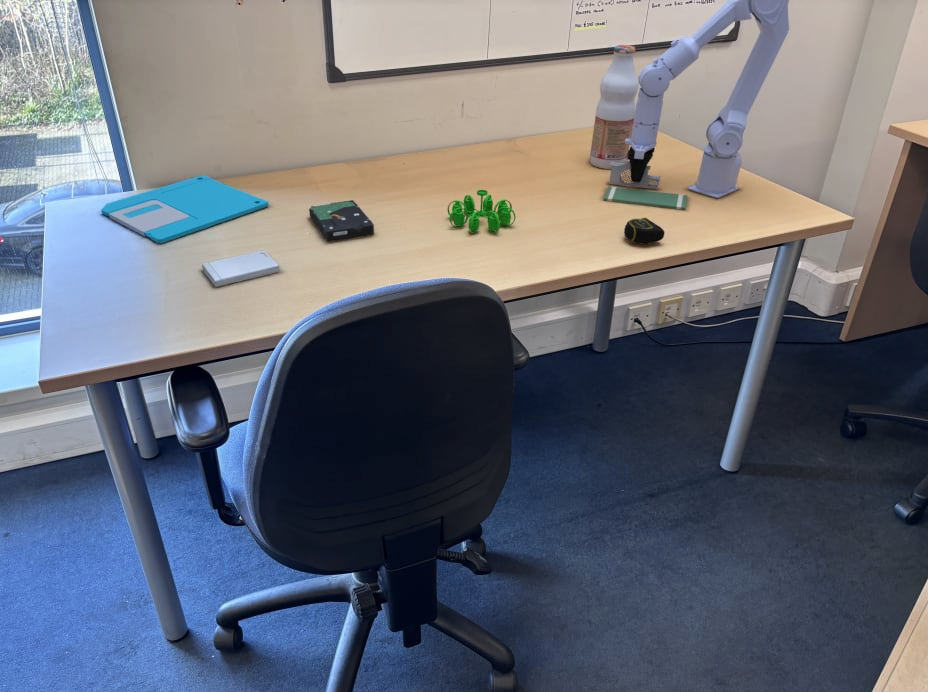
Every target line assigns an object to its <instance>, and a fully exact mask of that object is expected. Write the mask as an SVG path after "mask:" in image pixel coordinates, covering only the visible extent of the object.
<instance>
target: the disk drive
mask: <svg viewBox="0 0 928 692" xmlns="http://www.w3.org/2000/svg"><path fill="white" fill-rule="evenodd" d="M308 212H309V217H310V219H311V221H312V222H313V223H314V225H315V226H316V228H317V230H318V231H319V232H320V234H321V235H322V237H323V238H324V239H325V241H326V242H328V243H329V242H338V241H345V240H352V239H360V238H365V237H370V236H374V235H375V224H374V223H373V222H372V220H371V219H370V218H369V217H368V216H367V214H366V213H365V212H364V211H363V210H362V208H360V206H359V205H358V204H357V203H356V201H354V199H352V200H351V199H350V200H344V201H337V202H335V201H334V202H330V203H326V204H322V205H316V206H315V205H311V206H310V208H308Z"/></svg>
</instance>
